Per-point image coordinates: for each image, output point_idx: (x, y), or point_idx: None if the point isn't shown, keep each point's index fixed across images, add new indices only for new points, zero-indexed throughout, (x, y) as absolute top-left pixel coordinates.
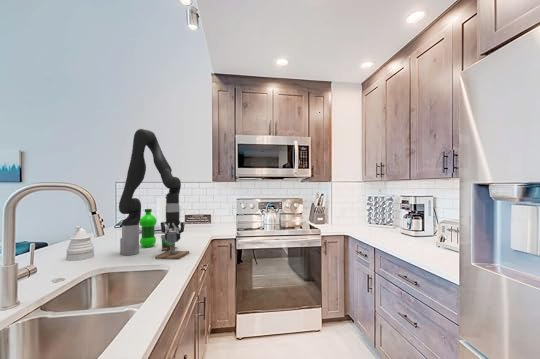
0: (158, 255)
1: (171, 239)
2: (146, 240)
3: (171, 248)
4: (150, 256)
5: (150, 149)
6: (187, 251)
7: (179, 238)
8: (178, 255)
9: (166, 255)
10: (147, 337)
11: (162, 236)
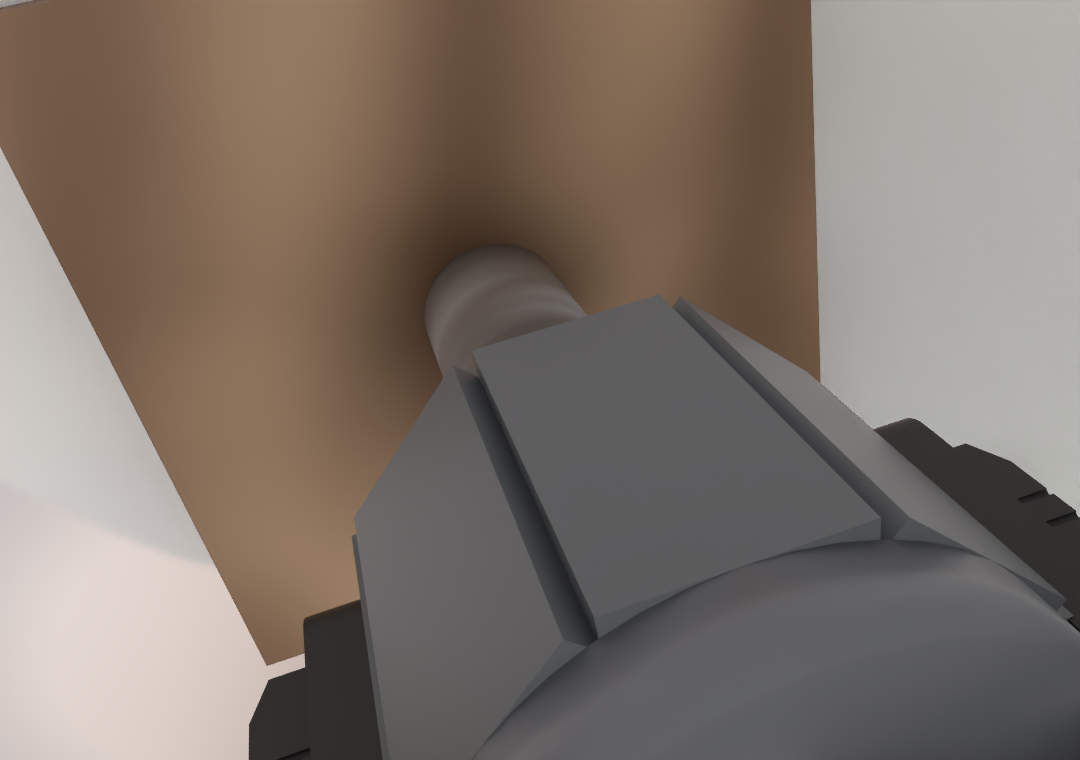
0: (779, 14)
1: (544, 419)
2: None
3: (527, 321)
4: (1009, 45)
5: None
6: (285, 629)
7: (254, 733)
8: (175, 227)
9: (548, 97)
10: None
11: None
